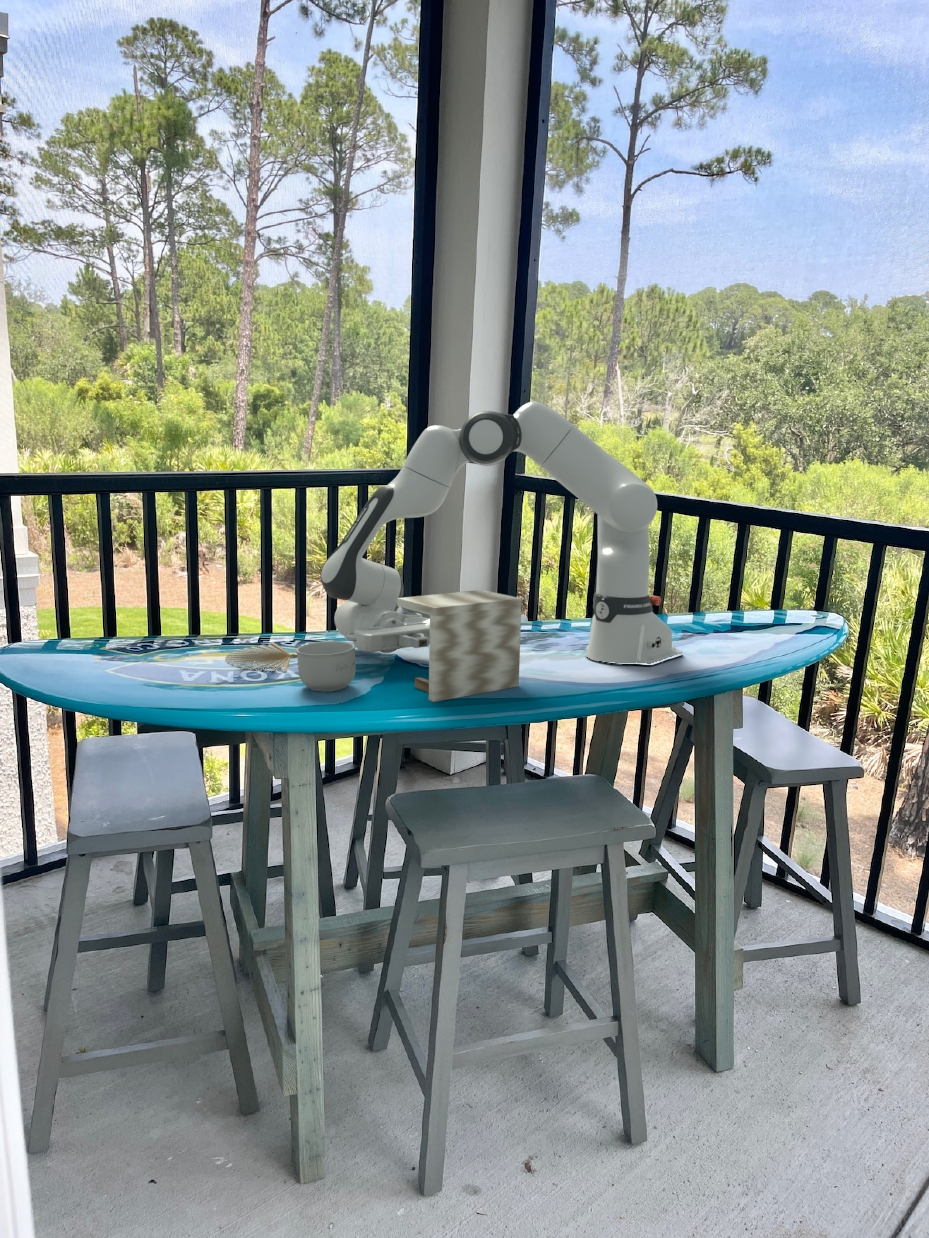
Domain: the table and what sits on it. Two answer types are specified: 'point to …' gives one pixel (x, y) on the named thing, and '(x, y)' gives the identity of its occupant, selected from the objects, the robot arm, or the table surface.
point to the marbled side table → (469, 642)
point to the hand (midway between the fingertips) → (423, 643)
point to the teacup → (326, 665)
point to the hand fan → (261, 657)
